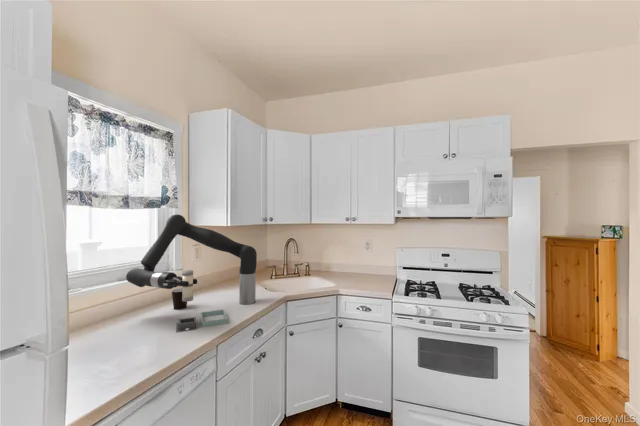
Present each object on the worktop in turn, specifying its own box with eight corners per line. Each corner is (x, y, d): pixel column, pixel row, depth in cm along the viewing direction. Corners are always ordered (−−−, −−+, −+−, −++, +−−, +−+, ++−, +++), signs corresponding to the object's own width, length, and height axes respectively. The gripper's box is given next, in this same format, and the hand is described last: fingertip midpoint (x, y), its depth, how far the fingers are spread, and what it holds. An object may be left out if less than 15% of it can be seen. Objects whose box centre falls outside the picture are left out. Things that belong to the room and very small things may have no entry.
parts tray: (200, 318, 145) (200, 312, 145) (223, 315, 150) (223, 309, 150) (202, 328, 131) (202, 322, 131) (227, 325, 136) (227, 318, 136)
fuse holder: (176, 325, 136) (176, 317, 136) (197, 322, 139) (197, 315, 140) (175, 334, 125) (175, 326, 125) (198, 331, 129) (198, 323, 129)
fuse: (182, 299, 134) (182, 270, 134) (193, 298, 135) (193, 270, 136) (181, 302, 129) (182, 272, 129) (193, 300, 131) (193, 271, 131)
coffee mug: (181, 310, 157) (182, 292, 157) (167, 310, 159) (168, 291, 159) (195, 304, 169) (195, 287, 169) (182, 303, 170) (182, 286, 170)
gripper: (150, 274, 131) (179, 277, 125) (176, 269, 144) (204, 271, 138) (150, 291, 131) (179, 295, 125) (176, 284, 144) (204, 287, 138)
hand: (192, 282), depth 132 cm, fingers closed on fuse, 4 cm apart
